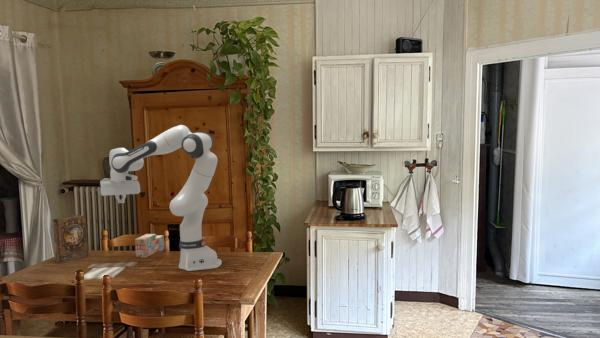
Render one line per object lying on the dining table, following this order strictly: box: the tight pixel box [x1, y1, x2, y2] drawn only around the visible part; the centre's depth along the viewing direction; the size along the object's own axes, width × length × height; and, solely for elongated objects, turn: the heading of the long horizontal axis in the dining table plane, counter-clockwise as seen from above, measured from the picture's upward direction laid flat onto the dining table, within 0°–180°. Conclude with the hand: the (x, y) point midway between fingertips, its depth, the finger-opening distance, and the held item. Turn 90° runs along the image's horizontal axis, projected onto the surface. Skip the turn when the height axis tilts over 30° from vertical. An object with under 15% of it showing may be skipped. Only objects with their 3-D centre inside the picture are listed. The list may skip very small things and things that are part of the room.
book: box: [52, 214, 89, 264], centre depth 232 cm, size 16×6×25 cm, turn 144°
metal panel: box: [83, 267, 126, 281], centre depth 201 cm, size 16×17×2 cm
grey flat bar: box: [86, 261, 139, 270], centre depth 213 cm, size 24×6×2 cm, turn 94°
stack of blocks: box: [134, 233, 166, 258], centre depth 238 cm, size 21×6×12 cm, turn 170°
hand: (121, 203), depth 217 cm, fingers closed
